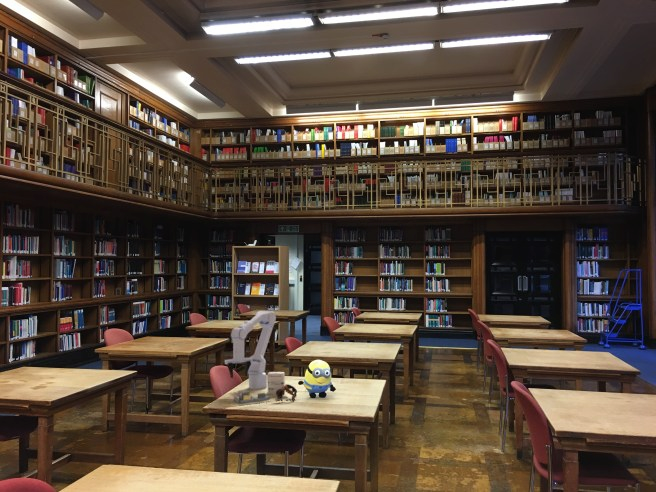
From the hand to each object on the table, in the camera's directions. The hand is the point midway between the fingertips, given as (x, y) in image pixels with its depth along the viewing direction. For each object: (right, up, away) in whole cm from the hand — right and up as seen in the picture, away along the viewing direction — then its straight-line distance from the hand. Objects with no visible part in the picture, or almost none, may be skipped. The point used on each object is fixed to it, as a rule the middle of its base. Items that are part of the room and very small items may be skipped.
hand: (238, 376), depth 264 cm
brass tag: (+7, -7, -17) cm, 20 cm away
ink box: (+20, -10, +1) cm, 22 cm away
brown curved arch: (+25, -10, -8) cm, 28 cm away
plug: (+5, -10, -13) cm, 17 cm away
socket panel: (+9, -9, -12) cm, 18 cm away
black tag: (+14, -7, -14) cm, 20 cm away
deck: (0, -10, -2) cm, 10 cm away
